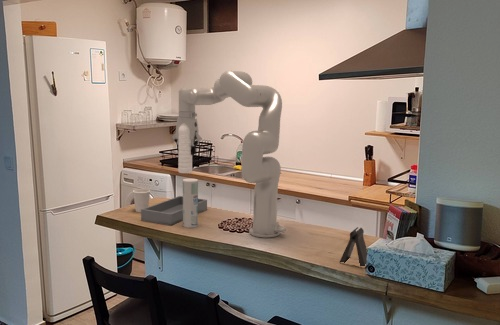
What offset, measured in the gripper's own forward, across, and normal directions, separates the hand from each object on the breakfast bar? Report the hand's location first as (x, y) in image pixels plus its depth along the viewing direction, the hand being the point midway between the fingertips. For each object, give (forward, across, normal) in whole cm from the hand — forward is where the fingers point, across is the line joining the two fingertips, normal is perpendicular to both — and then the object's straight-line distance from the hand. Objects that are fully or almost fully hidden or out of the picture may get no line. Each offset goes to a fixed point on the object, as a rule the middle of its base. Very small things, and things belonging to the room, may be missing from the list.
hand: (186, 153), depth 205 cm
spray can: (+28, -14, +18) cm, 36 cm away
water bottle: (+9, 0, 0) cm, 9 cm away
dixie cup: (+28, +19, +9) cm, 36 cm away
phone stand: (+28, -86, +27) cm, 94 cm away
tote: (+28, +1, +7) cm, 29 cm away
